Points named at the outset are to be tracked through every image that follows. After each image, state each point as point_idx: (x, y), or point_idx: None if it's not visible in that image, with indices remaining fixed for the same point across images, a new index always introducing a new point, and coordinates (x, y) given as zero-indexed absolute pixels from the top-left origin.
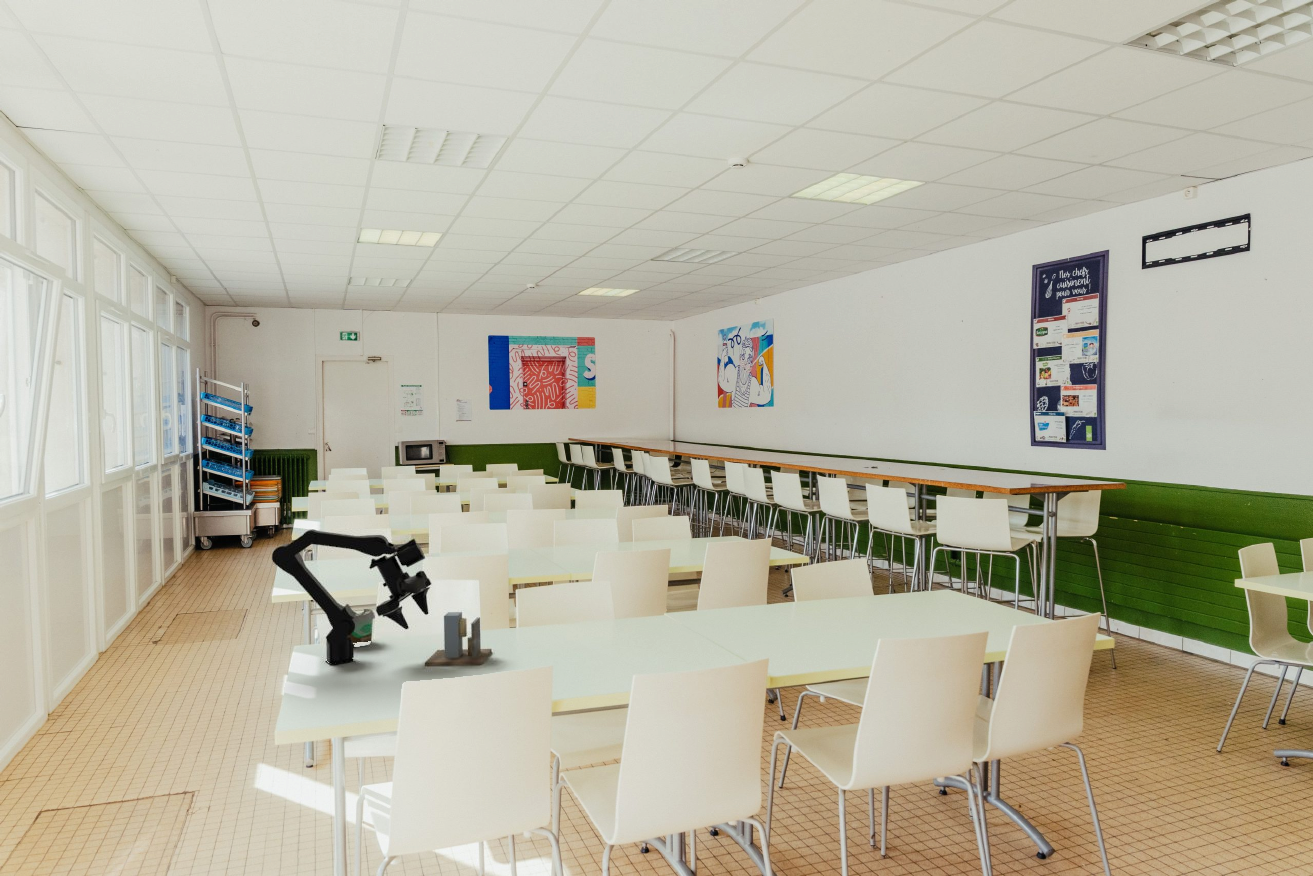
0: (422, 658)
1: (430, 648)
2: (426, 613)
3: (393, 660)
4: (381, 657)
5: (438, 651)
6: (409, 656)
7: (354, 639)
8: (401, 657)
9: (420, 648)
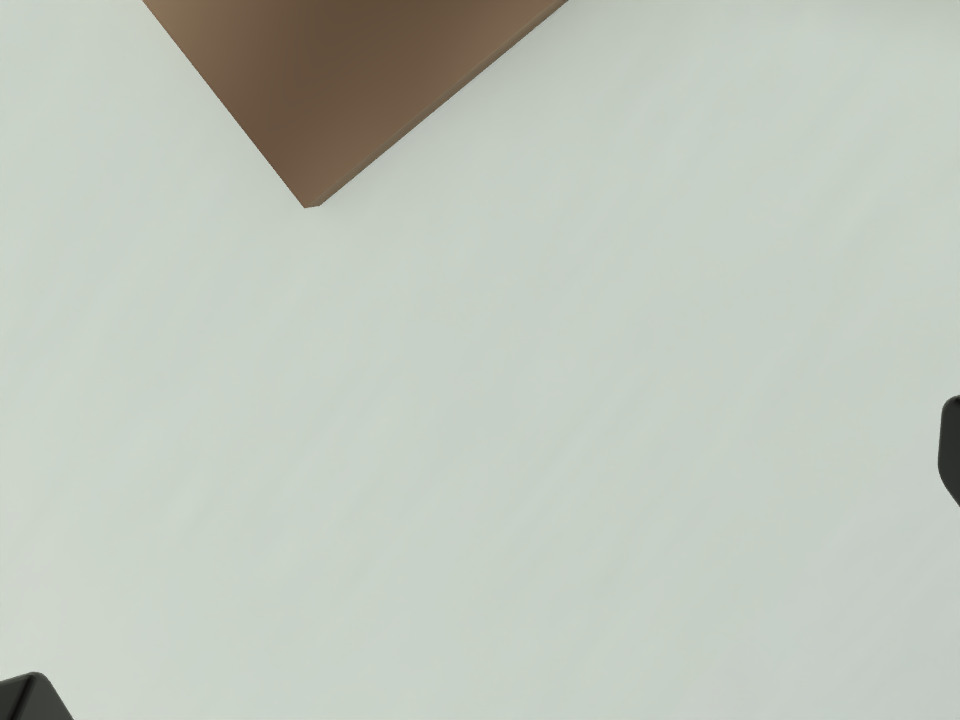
0: (626, 160)
1: (214, 524)
2: (49, 717)
3: (930, 437)
4: (897, 710)
5: (353, 116)
6: (653, 422)
7: None
8: (752, 475)
9: (294, 638)
